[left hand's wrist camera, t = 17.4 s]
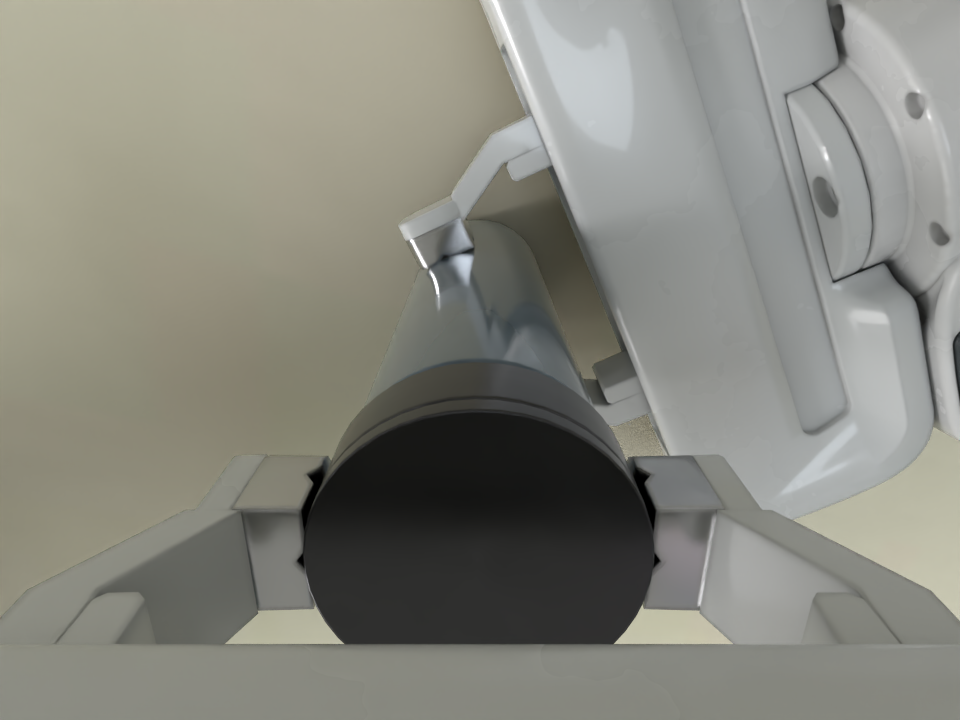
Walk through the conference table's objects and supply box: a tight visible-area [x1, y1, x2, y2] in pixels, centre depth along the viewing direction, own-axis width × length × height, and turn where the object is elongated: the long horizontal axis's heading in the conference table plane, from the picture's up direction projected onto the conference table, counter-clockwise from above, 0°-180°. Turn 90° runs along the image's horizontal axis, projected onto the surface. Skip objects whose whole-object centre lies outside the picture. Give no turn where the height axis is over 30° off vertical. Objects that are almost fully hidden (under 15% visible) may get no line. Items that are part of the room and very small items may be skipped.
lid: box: [303, 362, 655, 644], centre depth 9 cm, size 5×5×2 cm
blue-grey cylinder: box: [364, 220, 595, 409], centre depth 17 cm, size 5×5×16 cm
